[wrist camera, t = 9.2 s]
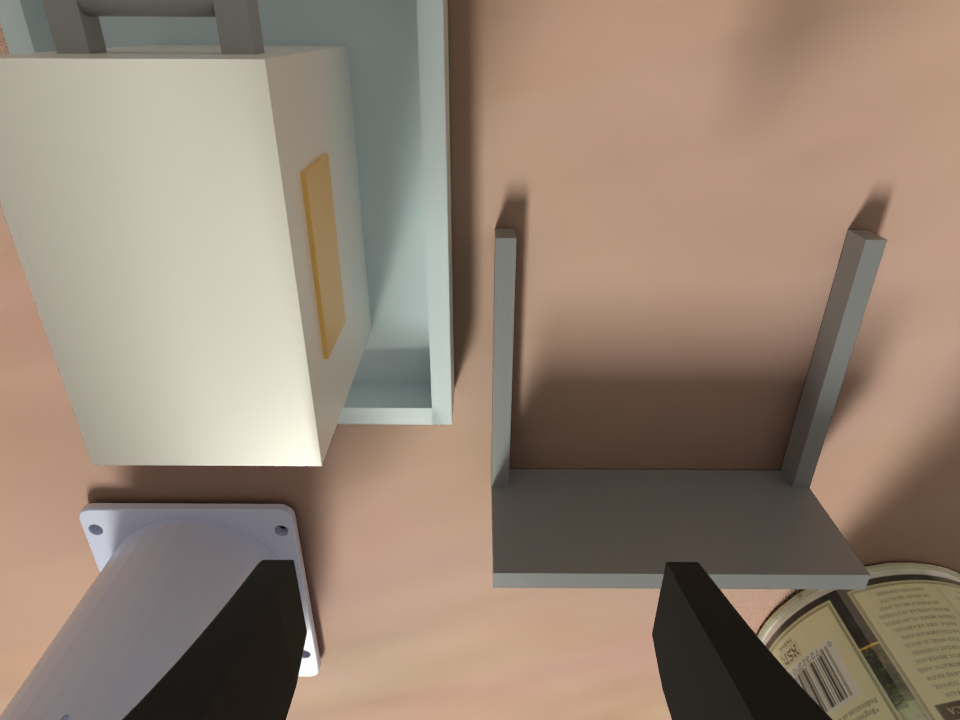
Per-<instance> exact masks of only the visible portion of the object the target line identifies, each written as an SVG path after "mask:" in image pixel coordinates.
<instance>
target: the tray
mask: <svg viewBox="0 0 960 720" xmlns="http://www.w3.org/2000/svg"><path fill="white" fill-rule="evenodd" d="M257 2H258V9H259V16H260V23H261V30H262V37H263V45H326V46H348V54H349V66H350V78H351V90H352V101H353V113H354V125H355V137H356V149H357V161H358V173H359V185H360V197H361V208H362V220H363V232H364V244H365V256H366V268H367V280H368V292H369V303H370V315H371V327H372V330H371V332H370V335H369V338H368V341H367V343H366V346H365V349H364V352H363V354H362V357H361V360H360V363H359V365H358V368H357V371H356V374H355V376H354V379H353V382H352V385H351V387H350V390H349V393H348V396H347V398H346V401H345V404H344V407H343V410H342V412H341V415H340V418H339V421H338V423H337V424H416V425H452V415H453V402H454V389H455V387H454V330H453V273H452V216H451V159H450V102H449V45H448V0H257ZM98 17H99V21H100V25H101V29H102V33H103V37H104V41H105V46H106V48H110V47H126V46H141V45H220V41H219V35H218V29H217V23H216V17H100V16H98ZM0 24H1V27H2V30H3V34H4V37H5V40H6V43H7V47H8V50H9V53H10V54H18V53H34V52H49V51H56V48H55V45H54V41H53V37H52V34H51V30H50V27H49V23H48V19H47V16H46V12H45V9H44V5H43V1H42V0H0Z"/></svg>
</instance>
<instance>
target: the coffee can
mask: <svg viewBox="0 0 960 720" xmlns="http://www.w3.org/2000/svg"><path fill="white" fill-rule="evenodd" d="M865 568H866V569H867V571H868V572H869V574H870V578H869V580H868V583H867V585H866V588H865V590H849V589H804V590H802V591H801V592H799V593H797V594H795V595H794V596H793V597H792V598H791V599H790V600H788V601H787V602H786V603H785V604H783V605H782V606H781V607H780V608H779V609H778V610H776V611H775V612H774V614H773V615H772V616H771V617H770V618H769V619H768V620H767V621H766V623H765V624H764V625H763V627H762V628H761V630H760V632H759V633H758V635H757V637H758V638H759V639H760V640H761V641H762V642H763V644H764V645H765V646H766V647H767V648H768V649H769V651H770V652H771V653H772V654H773V655H774V656H775V658H776V659H777V660H778V661H779V662H780V663H781V665H782V666H783V667H784V668H785V669H786V670H787V671H788V672H789V674H790V675H791V676H792V677H793V678H794V679H795V680H796V681H797V683H798V684H799V685H800V686H801V687H802V688H803V689H804V690H805V691H806V692H807V693H808V694H809V695H810V697H811V698H812V699H813V700H814V701H815V702H816V703H817V704H818V705H819V706H820V707H821V708H822V709H823V710H824V711H825V712H826V713H827V714H828V715H829V716H830V717H831V719H832V720H960V574H959V573H957V572H955V571H953V570H950V569H948V568H944V567H940V566H936V565H931V564H924V563H912V562H903V563H898V562H892V563H883V564H878V565H872V566H865Z"/></svg>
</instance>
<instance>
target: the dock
mask: <svg viewBox="0 0 960 720" xmlns="http://www.w3.org/2000/svg"><path fill="white" fill-rule="evenodd" d="M516 240H517V238H516V232H515V228H495V262H494V328H493V394H492V461H491V498H492V551H493V588H661V586H662V581H663V575H664V570H665V565H666V562H698V563H699V564H700V565H701V566H702V567H703V568H704V570H705V571H706V572H707V573H708V575H709V576H710V577H711V579H712V580H713V581H714V583H715V584H716V585H717V586H718V588H719V589H849V590H865V588H866V585H867V583H868V580H869V578H870V574H869V572H868V571H867V569H866V568H865V566H864V565H863V564H862V562H861V561H860V559H859V558H858V556H857V555H856V554H855V552H854V551H853V549H852V548H851V547H850V545H849V544H848V542H847V541H846V539H845V538H844V537H843V535H842V534H841V532H840V531H839V529H838V528H837V527H836V525H835V524H834V522H833V521H832V520H831V518H830V517H829V515H828V514H827V512H826V511H825V510H824V508H823V507H822V505H821V504H820V502H819V501H818V500H817V498H816V497H815V495H814V494H813V492H812V491H811V490H810V484H811V481H812V478H813V475H814V472H815V468H816V465H817V462H818V459H819V456H820V452H821V449H822V446H823V443H824V440H825V436H826V433H827V430H828V427H829V424H830V420H831V417H832V414H833V411H834V408H835V405H836V401H837V398H838V395H839V392H840V389H841V385H842V382H843V379H844V376H845V373H846V369H847V366H848V363H849V360H850V357H851V353H852V350H853V347H854V344H855V341H856V337H857V334H858V331H859V328H860V325H861V321H862V318H863V315H864V312H865V309H866V306H867V302H868V299H869V296H870V293H871V290H872V286H873V283H874V280H875V277H876V274H877V270H878V267H879V264H880V261H881V258H882V254H883V251H884V248H885V245H886V242H887V240H886V239H884V238H882V237H881V236H879V235H877V234H875V233H873V232H871V231H869V230H848V232H847V236H846V240H845V243H844V247H843V250H842V254H841V257H840V261H839V264H838V268H837V272H836V275H835V279H834V282H833V286H832V289H831V293H830V296H829V300H828V304H827V307H826V311H825V314H824V318H823V321H822V325H821V328H820V332H819V336H818V339H817V343H816V346H815V350H814V353H813V357H812V360H811V364H810V367H809V371H808V375H807V378H806V382H805V385H804V389H803V392H802V396H801V399H800V403H799V407H798V410H797V414H796V417H795V421H794V424H793V428H792V431H791V435H790V439H789V442H788V446H787V449H786V453H785V456H784V460H783V463H782V467H781V470H630V469H509V462H510V430H511V399H512V367H513V335H514V304H515V272H516Z"/></svg>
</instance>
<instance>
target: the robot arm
mask: <svg viewBox="0 0 960 720" xmlns="http://www.w3.org/2000/svg"><path fill="white" fill-rule="evenodd" d="M79 519H80V522H81V524H82V527H83V529H84V532H85V535H86V537H87V540H88V542H89V545H90V548H91V550H92V553H93V556H94V558H95V561H96V563H97V566H98V569H99V571H100V573H99V575H98V576H97V578H96V579H95V581H94V582H93V584H92V585H91V586H90V588H89V589H88V591H87V592H86V594H85V595H84V596H83V598H82V599H81V601H80V602H79V604H78V605H77V607H76V608H75V609H74V611H73V612H72V614H71V615H70V617H69V618H68V619H67V621H66V622H65V624H64V625H63V627H62V628H61V630H60V631H59V632H58V634H57V635H56V637H55V638H54V640H53V641H52V642H51V644H50V645H49V647H48V648H47V650H46V651H45V653H44V654H43V655H42V657H41V658H40V660H39V661H38V663H37V664H36V665H35V667H34V668H33V670H32V671H31V673H30V674H29V675H28V677H27V678H26V680H25V681H24V683H23V684H22V686H21V687H20V688H19V690H18V691H17V693H16V694H15V696H14V697H13V698H12V700H11V701H10V703H9V704H8V706H7V707H6V709H5V710H4V711H3V713H2V714H1V716H0V720H286V717H287V714H288V710H289V707H290V704H291V701H292V698H293V695H294V691H295V688H296V684H297V680H298V676H314V675H316V674H317V673H318V672H319V669H320V665H321V661H320V655H319V649H318V644H317V638H316V632H315V626H314V620H313V615H312V609H311V603H310V597H309V591H308V586H307V580H306V574H305V568H304V562H303V557H302V551H301V545H300V539H299V534H298V528H297V522H296V516H295V513H294V510H293V509H292V508H290V507H289V506H287V505H283V504H185V503H90V504H87V505H86V506H85V507H84V508H83V509H82V510H81V512H80V514H79ZM97 525H98V526H97ZM280 525H281V526H285V527H286V528H287V529H284V528H281V527H279V526H280ZM99 526H100V527H99ZM652 636H653V641H654V647H655V652H656V658H657V663H658V668H659V673H660V678H661V683H662V688H663V691H664V695H665V698H666V701H667V705H668V708H669V711H670V714H671V718H672V720H832V719H831V717H830V716H829V715H828V714H827V713H826V712H825V711H824V710H823V709H822V708H821V707H820V706H819V705H818V704H817V703H816V702H815V701H814V700H813V699H812V698H811V697H810V695H809V694H808V693H807V692H806V691H805V690H804V689H803V688H802V687H801V686H800V685H799V684H798V683H797V681H796V680H795V679H794V678H793V677H792V676H791V675H790V674H789V672H788V671H787V670H786V669H785V668H784V667H783V666H782V665H781V663H780V662H779V661H778V660H777V659H776V658H775V656H774V655H773V654H772V653H771V652H770V651H769V649H768V648H767V647H766V646H765V645H764V644H763V642H762V641H761V640H760V639H759V638H758V637H757V635H756V634H755V633H754V632H753V630H752V629H751V628H750V627H749V626H748V624H747V623H746V622H745V621H744V619H743V618H742V617H741V616H740V614H739V613H738V612H737V611H736V609H735V608H734V607H733V606H732V604H731V603H730V602H729V601H728V599H727V598H726V597H725V596H724V594H723V593H722V592H721V590H720V589H719V588H718V586H717V585H716V584H715V583H714V581H713V580H712V579H711V577H710V576H709V575H708V573H707V572H706V571H705V570H704V568H703V567H702V566H701V565H700V564H699V563H698V562H666V565H665V570H664V575H663V581H662V586H661V591H660V596H659V601H658V607H657V612H656V617H655V622H654V627H653V633H652Z"/></svg>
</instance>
